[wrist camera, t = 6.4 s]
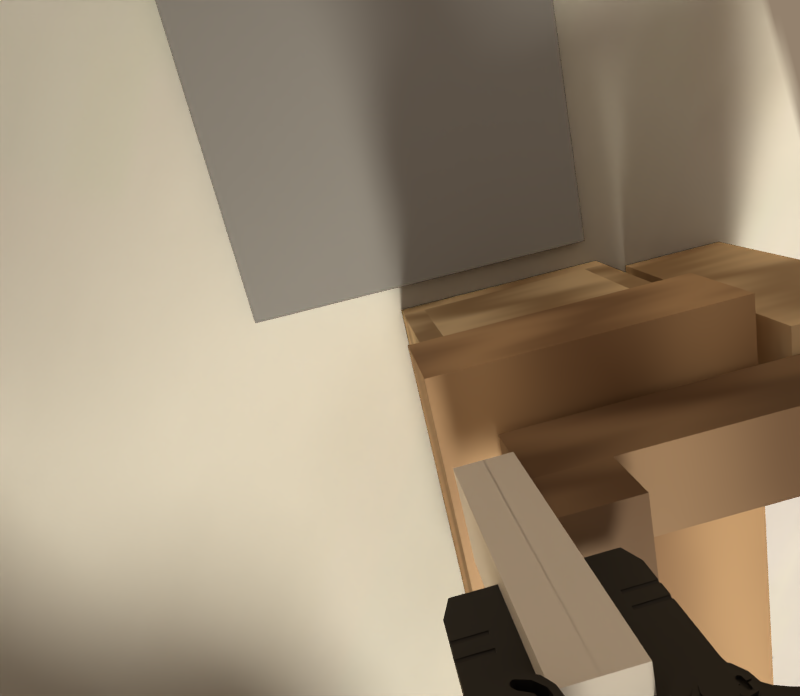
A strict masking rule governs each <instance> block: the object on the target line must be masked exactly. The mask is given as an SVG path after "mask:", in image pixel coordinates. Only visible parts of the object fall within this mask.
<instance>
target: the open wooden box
mask: <svg viewBox="0 0 800 696" xmlns="http://www.w3.org/2000/svg"><path fill="white" fill-rule="evenodd" d="M688 273H693V274H696V275H699V276H703V277H706V278H709V279H712V280H715V281H718V282H721V283H724V284H727V285H731V286H734V287H737V288H740V289H743V290H746V291H749V292H752V293H755V310H756V331H757V353H758V365H761V364H764V363H768V362H772V361H776V360H779V359H783V358H787V357H790V356H794V355H798V354H800V260H798V259H794V258H789V257H785V256H780V255H776V254H771V253H767V252H762V251H758V250H753V249H749V248H744V247H740V246H735V245H731V244H726V243H722V242H716V243H712V244H708V245H705V246H701V247H697V248H693V249H689V250H685V251H681V252H677V253H673V254H669V255H665V256H661V257H657V258H653V259H650V260H646V261H642V262H638V263H634V264H630V265H626V272H623V271H621V270H618V269H615V268H613V267H610V266H608V265H605V264H603V263H600V262H597V261H593V262H589V263H585V264H581V265H577V266H573V267H569V268H565V269H561V270H557V271H553V272H549V273H545V274H541V275H537V276H534V277H530V278H526V279H522V280H518V281H514V282H510V283H506V284H502V285H498V286H494V287H490V288H486V289H482V290H478V291H474V292H470V293H466V294H462V295H459V296H455V297H451V298H447V299H443V300H439V301H435V302H431V303H427V304H423V305H419V306H415V307H411V308H407V309H403V310H401V311H402V315H403V319H404V324H405V328H406V332H407V337H408V341H409V345H411V344H415V343H419V342H423V341H427V340H431V339H434V338H438V337H442V336H446V335H450V334H454V333H458V332H462V331H466V330H470V329H473V328H477V327H481V326H485V325H489V324H493V323H497V322H501V321H505V320H509V319H512V318H516V317H520V316H524V315H528V314H532V313H536V312H540V311H544V310H547V309H551V308H555V307H559V306H563V305H567V304H571V303H575V302H579V301H583V300H586V299H590V298H594V297H598V296H602V295H606V294H610V293H614V292H618V291H622V290H625V289H629V288H633V287H637V286H641V285H645V284H649V283H653V282H657V281H660V280H664V279H668V278H672V277H676V276H680V275H684V274H688Z"/></svg>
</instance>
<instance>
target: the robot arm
mask: <svg viewBox="0 0 800 696" xmlns="http://www.w3.org/2000/svg"><path fill="white" fill-rule="evenodd" d="M453 470H454V474H455V479H456V483H457V487H458V492H459V496H460V500H461V504H462V509H463V513H464V517H465V522H466V526H467V530H468V534H469V539H470V543H471V547H472V552H473V556H474V560H475V564H476V566H477V569H478V571H479V574H480V576H481V579H482V581H483V584H484V587H485V588H483V589H479V590H476V591H472V592H469V593H465V594H462V595H458V596H455V597H451V598H448V602H447V607H446V611H445V615H444V619H443V621H444V624H445V628H446V632H447V636H448V640H449V644H450V647H451V651H452V655H453V659H454V663H455V667H456V670H457V674H458V678H459V682H460V685H461V689H462V693H463V696H800V687H789V686H779V685H772V684H768V683H764V682H761V681H759V680H758V679H757V678H756V677H755V676H754V675H753V674H751V673H750V672H749V671H747V670H745V669H743V668H741V667H738V666H736V665H734V664H732V663H728V662H726V661H725V660H724V659H723V658H722V657H721V656H720V655H719V654H718V653H717V651H716V650H715V649H714V648H713V646H712V645H711V644H710V643H709V641H708V640H707V639H706V638H705V636H704V635H703V634H702V633H701V631H700V630H699V629H698V628H697V626H696V625H695V624H694V623H693V621H692V620H691V619H690V618H689V617H688V615H687V614H686V613H685V612H684V610H683V609H682V608H681V607H680V605H679V604H678V603H677V602H676V600H675V599H674V598H673V599H672V597H671V594H670V593H669V592H668V590H667V589H666V588H665V587H664V585H663V584H662V583H660V582H659V580H658V578H657V577H656V576H655V574H654V573H653V572H652V571H651V569H650V568H649V567H648V566H647V564H646V563H645V562H644V561H643V560H642V559H640V558H638V557H637V556H635V555H633V554H631V553H630V552H628V551H626V550H624V549H623V548H621V547H619V548H616V549H612V550H609V551H605V552H602V553H598V554H595V555H591V556H588V557H584V558H583V556H582V555H581V553H580V552H579V550H578V549H577V547H576V546H575V544H574V543H573V541H572V540H571V538H570V537H569V535H568V534H567V532H566V531H565V529H564V528H563V526H562V525H561V523H560V522H559V520H558V518H557V517H556V515H555V514H554V512H553V511H552V509H551V508H550V506H549V505H548V503H547V502H546V500H545V499H544V497H543V496H542V494H541V493H540V491H539V490H538V488H537V487H536V485H535V484H534V482H533V481H532V479H531V478H530V476H529V475H528V473H527V472H526V470H525V469H524V467H523V466H522V464H521V463H520V461H519V460H518V458H517V457H516V455H515V454H514V452H510V453H507V454H503V455H500V456H496V457H492V458H489V459H485V460H481V461H478V462H474V463H471V464H467V465H463V466H460V467H456V468H453Z"/></svg>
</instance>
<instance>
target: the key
mask: <svg viewBox="0 0 800 696" xmlns="http://www.w3.org/2000/svg"><path fill="white" fill-rule="evenodd" d="M498 436H499V441H500V446H501V452H502V455H503V454H507V453H510V452H514V454H515V455H516V457H517V458H518V460H519V461H520V463H521V464H522V466H523V467H524V469H525V470H526V472H527V473H528V475H529V476H530V478H531V479H532V481H533V482H534V484H535V485H536V487H537V488H538V490H539V491H540V493H541V494H542V496H543V497H544V499H545V500H546V502H547V503H548V505H549V506H550V508H551V509H552V511H553V512H554V514H555V515H556V517H557V518H558V520H559V522H560V523H561V525H562V526H563V528H564V529H565V531H566V532H567V534H568V535H569V537H570V538H571V540H572V541H573V543H574V544H575V546H576V547H577V549H578V550H579V552H580V553H581V555H582V556H583V558H584V557H588V556H591V555H595V554H598V553H602V552H605V551H609V550H612V549H616V548H619V547H621V548H623V549H624V550H626V551H628V552H630V553H631V554H633V555H635V556H637V557H638V558H640V559H642V560H643V561H644V562H645V563H646V564H647V566H648V567H649V568H650V569H651V571H652V572H653V573H654V574H655V576H656V577H657V578H658V569H657V560H656V552H655V543H654V537H656V536H660V535H663V534H667V533H670V532H674V531H677V530H681V529H685V528H688V527H692V526H695V525H699V524H702V523H706V522H710V521H713V520H717V519H720V518H724V517H727V516H731V515H735V514H738V513H742V512H745V511H749V510H752V509H756V508H760V507H763V506H767V505H770V504H774V503H777V502H781V501H785V500H788V499H792V498H795V497H799V496H800V354H798V355H794V356H790V357H787V358H783V359H779V360H776V361H772V362H768V363H764V364H761V365H757V366H753V367H749V368H746V369H742V370H738V371H734V372H731V373H727V374H723V375H719V376H716V377H712V378H708V379H704V380H701V381H697V382H693V383H689V384H686V385H682V386H678V387H674V388H671V389H667V390H663V391H659V392H656V393H652V394H648V395H644V396H641V397H637V398H633V399H629V400H626V401H622V402H618V403H614V404H611V405H607V406H603V407H599V408H596V409H592V410H588V411H584V412H581V413H577V414H573V415H569V416H566V417H562V418H558V419H554V420H551V421H547V422H543V423H539V424H536V425H532V426H528V427H524V428H521V429H517V430H513V431H509V432H506V433H502V434H498ZM658 580H659V578H658Z"/></svg>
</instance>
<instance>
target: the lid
mask: <svg viewBox="0 0 800 696" xmlns="http://www.w3.org/2000/svg"><path fill="white" fill-rule="evenodd" d="M408 348H409V353H410V357H411V361H412V366H413V370H414V374H415V378H416V383H417V387H418V391H419V396H420V400H421V404H422V409H423V413H424V417H425V421H426V426H427V430H428V434H429V439H430V443H431V447H432V451H433V456H434V460H435V464H436V469H437V473H438V477H439V482H440V486H441V490H442V494H443V499H444V503H445V507H446V512H447V516H448V520H449V525H450V529H451V533H452V537H453V542H454V546H455V550H456V555H457V559H458V563H459V567H460V572H461V576H462V580H463V585H464V589H465V593H469V592H472V591H476V590H479V589H483V588H485V587H484V584H483V581H482V579H481V576H480V574H479V571H478V569H477V566H476V564H475V560H474V556H473V552H472V547H471V543H470V539H469V534H468V530H467V526H466V522H465V517H464V513H463V509H462V504H461V500H460V496H459V492H458V487H457V483H456V479H455V474H454V470H453V468H456V467H460V466H463V465H467V464H471V463H474V462H478V461H481V460H485V459H489V458H492V457H496V456H500V455H502V452H501V446H500V441H499V436H498V434H502V433H506V432H509V431H513V430H517V429H521V428H524V427H528V426H532V425H536V424H539V423H543V422H547V421H551V420H554V419H558V418H562V417H566V416H569V415H573V414H577V413H581V412H584V411H588V410H592V409H596V408H599V407H603V406H607V405H611V404H614V403H618V402H622V401H626V400H629V399H633V398H637V397H641V396H644V395H648V394H652V393H656V392H659V391H663V390H667V389H671V388H674V387H678V386H682V385H686V384H689V383H693V382H697V381H701V380H704V379H708V378H712V377H716V376H719V375H723V374H727V373H731V372H734V371H738V370H742V369H746V368H749V367H753V366H757V365H758V353H757V331H756V310H755V293H752V292H749V291H746V290H743V289H740V288H737V287H734V286H731V285H727V284H724V283H721V282H718V281H715V280H712V279H709V278H706V277H703V276H699V275H696V274H693V273H688V274H684V275H680V276H676V277H672V278H668V279H664V280H660V281H657V282H653V283H649V284H645V285H641V286H637V287H633V288H629V289H625V290H622V291H618V292H614V293H610V294H606V295H602V296H598V297H594V298H590V299H586V300H583V301H579V302H575V303H571V304H567V305H563V306H559V307H555V308H551V309H547V310H544V311H540V312H536V313H532V314H528V315H524V316H520V317H516V318H512V319H509V320H505V321H501V322H497V323H493V324H489V325H485V326H481V327H477V328H473V329H470V330H466V331H462V332H458V333H454V334H450V335H446V336H442V337H438V338H434V339H431V340H427V341H423V342H419V343H415V344H411V345H408ZM654 543H655V552H656V560H657V569H658V578H659V582H660V583H662V584H663V585H664V587H665V588H666V589H667V590H668V592H669V593H670V594H671V597H672V599H673V598H674V599H675V600H676V602H677V603H678V604H679V605H680V607H681V608H682V609H683V610H684V612H685V613H686V614H687V615H688V617H689V618H690V619H691V620H692V621H693V623H694V624H695V625H696V626H697V628H698V629H699V630H700V631H701V633H702V634H703V635H704V636H705V638H706V639H707V640H708V641H709V643H710V644H711V645H712V646H713V648H714V649H715V650H716V651H717V653H718V654H719V655H720V656H721V657H722V658H723V659H724V660H725V661H726V662H728V663H732V664H734V665H736V666H738V667H741V668H743V669H745V670H747V671H749V672H750V673H751V674H753V675H754V676H755V677H756V678H757V679H758V680H759V681H761V682H764V683H768V684H772V685H773V668H772V647H771V626H770V605H769V584H768V563H767V542H766V521H765V506H763V507H760V508H756V509H752V510H749V511H745V512H742V513H738V514H735V515H731V516H727V517H724V518H720V519H717V520H713V521H710V522H706V523H702V524H699V525H695V526H692V527H688V528H685V529H681V530H677V531H674V532H670V533H667V534H663V535H660V536H656V537H654Z"/></svg>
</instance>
